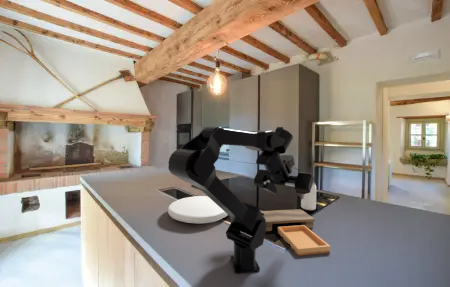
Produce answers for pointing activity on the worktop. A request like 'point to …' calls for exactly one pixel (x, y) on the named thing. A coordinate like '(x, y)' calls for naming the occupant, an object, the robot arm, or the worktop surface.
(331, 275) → the worktop surface
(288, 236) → the shallow tan tray
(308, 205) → the can
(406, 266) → the worktop surface
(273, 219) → the overhang
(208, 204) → the white thick disc
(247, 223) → the robot arm
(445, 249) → the worktop surface
